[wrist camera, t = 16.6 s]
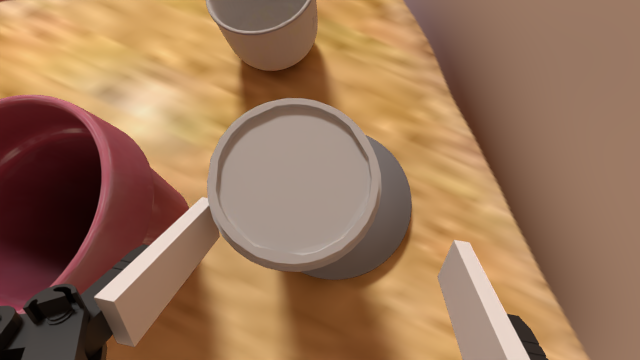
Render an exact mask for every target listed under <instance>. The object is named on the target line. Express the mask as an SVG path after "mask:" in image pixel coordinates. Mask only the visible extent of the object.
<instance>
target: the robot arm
mask: <svg viewBox="0 0 640 360" xmlns="http://www.w3.org/2000/svg"><path fill="white" fill-rule="evenodd" d="M219 237H220V236H219V229H218V227H217V225H216V224H215V222H214V220H213V217H212V213H211V210H210V206H209V203H208V198H204V197H202V198H201V199H200V200H199V201H197V202H196V203H195V204H194V205H193V206H192V207H191V208H190V209H189V210H188V211H187V212H186V213H184V214H183V215H182V216H181V217H180V218H179V219H178V220H177V221H176V222H175V223H174V224H173V225H171V226H170V227H169V228H168V229H167V230H166V231H165V232H164V233H163V234H162V235H161V236H160V237H158V238H157V239H156V240H155V241H154V242H153V243H152V244H151V245H145V244H143V245H141V246H139V247H137V248H135V249H134V250H132V251H130V252H129V253H128V254H127V255H126V256H124V257H123V258H122V259H121V261H120V262H118V263H116V264H115V265H114V266H113V267H112V269H110V270H108V271H107V272H106V273H105V274H104V275H103V276H101V277H100V278H99V279H98V280H97V281H96V282H95V283H93V284H92V285H91V286H90V287H89V288H88V289H87V290H85V291H84V292H83V293H82V294H81V295H80V294H79V292H78V291H77V289H76V287H75V286H73V285H72V284H59V285H54V286H52V287H49V288H46V289H44V290H42V291H41V292H39V293H37V294H35V295H34V296H33V297H32V298H31V299H29V300H28V301H27V302H26V304H25V305H24V307H23V310H24V311H25V313H26V314H18V313H17V311H16V310H15V309H14V308H13V307H11V306H9V305H8V306H0V360H106V354H107V345H106V341H107V340H108V339H109V338H110V337H111V336H112V335H113V336H114V338H115V340H116V342H117V343H119V344H124V345H128V346H132V347H135V346H136V345H137V344H138V342H139V341H140V340H141V338H142V337H143V336H144V334H145V333H146V332H147V331H148V329H149V328H150V327H151V325H152V324H153V323H154V321H155V320H156V319H157V318H158V316H159V315H160V314H161V312H162V311H163V310H164V308H165V307H166V306H167V304H168V303H169V302H170V301H171V299H172V298H173V297H174V295H175V294H176V293H177V291H178V290H179V289H180V288H181V286H182V285H183V284H184V282H185V281H186V280H187V278H188V277H189V276H190V275H191V273H192V272H193V271H194V269H195V268H196V267H197V265H198V264H199V263H200V261H201V260H202V259H203V258H204V256H205V255H206V254H207V252H208V251H209V250H210V248H211V247H212V246H213V245H214V243H215V242H216V241H217V239H218V238H219ZM438 280H439V283H440V287H441V290H442V293H443V297H444V300H445V303H446V306H447V310H448V313H449V316H450V319H451V323H452V326H453V329H454V332H455V336H456V339H457V342H458V345H459V349H460V352H461V355H462V359H463V360H548V359H547V358H546V355H545V353H544V351H543V350H542V348H541V347H540V346H539V343H538V341H537V339H536V338H535V336H534V334H533V332H532V331H531V329H530V328H529V327H528V326H527V325H526V324H525V323H524V322H523V321H522V319H521V318H520V317H519V316H515V315H510V314H506V312H505V310H504V308H503V306H502V304H501V303H500V301H499V299H498V297H497V295H496V293H495V291H494V289H493V287H492V285H491V283H490V281H489V280H488V278H487V276H486V274H485V272H484V270H483V268H482V266H481V264H480V262H479V260H478V258H477V256H476V255H475V253H474V251H473V249H472V247H471V245H470V243H469V242H463V241H457V240H454V241H453V243H452V245H451V247H450V250H449V252H448V254H447V256H446V259H445V261H444V263H443V265H442V268H441V270H440V272H439V275H438Z"/></svg>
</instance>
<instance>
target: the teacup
mask: <svg viewBox="0 0 640 360" xmlns="http://www.w3.org/2000/svg"><path fill="white" fill-rule="evenodd" d="M206 5H207V8H208V11H209V13H210V15H211V17H212V18H213V20H214V21H215V22H216V23H217V25H218V26H219V28H220V30H221V32H222V33H223V35H224V37H225V38H226V40H227V41H228V43H229V45H230V46H231V47H232V49H233V50H234V52H235V53H236V54H237V55H238V56H239V58H241V59H242V60H243V61H244V62H245V63H247V64H248V65H250V66H252V67H254V68H257V69H260V70H266V71H276V70H282V69H285V68H288V67H291V66H293V65H295V64H296V63H298V62H299V61H300V60H302V59H303V58H304V57H305V56H306V55H307V54H308V52H309V51H310V49H311V48H312V46H313V44H314V41H315V38H316V34H317V5H316V0H206Z"/></svg>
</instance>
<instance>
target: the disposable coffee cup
mask: <svg viewBox="0 0 640 360" xmlns="http://www.w3.org/2000/svg"><path fill="white" fill-rule="evenodd" d="M207 191H208V203H209V206H210V210H211V213H212V217H213V220H214V222H215V224H216V225H217V227H218V229H219V231H220V232H221V234H222V236H223V237H224V238H225V240H226V241H227V242H228V243H229V244H230V245H231V246H232V247H233V248H234V249H235V250H236V251H237V252H239V253H240V254H241V255H243V256H244V257H246V258H247V259H248V260H250V261H252V262H254V263H257V264H259V265H261V266H263V267H266V268H270V269H274V270H279V271H292V272H299V271H309V270H313V269H317V268H320V267H323V266H326V265H328V264H330V263H333V262H335V261H337V260H339V259H340V258H341V257H343V256H344V255H346V254H347V253H349V252H350V251H351V250H352V249H353V248H354V247H355V246H356V245H357V244H358V243H359V242H360V241H361V240H362V239H363V238H364V237H365V235H366V233H367V232H368V230H369V228H370V227H371V225H372V223H373V222H374V219H375V216H376V213H377V211H378V208H379V204H380V197H381V173H380V169H379V165H378V161H377V158H376V155H375V153H374V150H373V148H372V146H371V145H370V143H369V141H368V139H367V137H366V136H365V134H364V133H363V132H362V130H361V129H360V128H359V127H358V126H357V125H356V124H355V123H354V122H353V120H352V119H350V118H349V117H348V116H346V115H345V114H344V113H342V112H341V111H339V110H338V109H335V108H333V107H331V106H329V105H327V104H324V103H321V102H318V101H316V100H310V99H304V98H285V99H280V100H275V101H270V102H267V103H264V104H261V105H259V106H256V107H254V108H253V109H251V110H249V111H247V112H246V113H244V114H243V115H242V116H241V117H239V118H238V119H237V120H235V121H234V122H233V123H232V124H231V125H230V127H229V128H228V129H227V130H226V132H225V133H224V134H223V135H222V137H221V138H220V140H219V142H218V144H217V146H216V148H215V151H214V153H213V155H212V157H211V160H210V168H209V174H208V180H207Z"/></svg>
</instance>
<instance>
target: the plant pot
mask: <svg viewBox="0 0 640 360" xmlns="http://www.w3.org/2000/svg"><path fill="white" fill-rule="evenodd" d="M188 210H189V207H188V205H187V203H186V201H185V199H184V198H183V197H182V195H181V194H180V193H179V192H177V191H176V190H175V189H174V188H173V187H172V186H170V185H169V184H168V183H167V182H166V181H165V180H164V179H163V178H162V177H161V176H159V175H158V174H157V173H156V172H155V171H154V170H153V169H152V168H150V166H149V163H148V161H147V158H146V157H145V155H144V153H143V152H142V150H141V149H140V147H139V146H138V145H137V144H136V143H135V141H134V140H133V139H132V138H130V137H129V136H128V135H127V134H126V133H124V132H123V131H121V130H119V129H118V128H116V127H114V126H113V125H111V124H109V123H108V122H106V121H104V120H102V119H100V118H99V117H97V116H95V115H93V114H91V113H90V112H88V111H86V110H84V109H82V108H80V107H78V106H76V105H74V104H72V103H70V102H67V101H64V100H61V99H58V98H55V97H50V96H43V95H20V96H12V97H7V98H3V99H0V306H8V305H9V306H11V307H13V308H14V309H15V310H16V311H17V313H18V314H26V313H25V311H24V310H23V307H24V305H25V304H26V302H27V301H28V300H29V299H31V298H32V297H33V296H34V295H35V294H37V293H39V292H41V291H42V290H44V289H46V288H49V287H52V286H54V285H59V284H72V285H73V286H75V287H76V289H77V291H78V292H79V294H80V295H81V294H82V293H83V292H84V291H85V290H87V289H88V288H89V287H90V286H91V285H92V284H93V283H95V282H96V281H97V280H98V279H99V278H100V277H101V276H103V275H104V274H105V273H106V272H107V271H108V270H110V269H112V267H113V266H114V265H115V264H116V263H118V262H120V261H121V259H122V258H123V257H124V256H126V255H127V254H128V253H129V252H130V251H132V250H134V249H135V248H137V247H139V246H141V245H143V244H145V245H151V244H152V243H153V242H154V241H155V240H156V239H157V238H158V237H160V236H161V235H162V234H163V233H164V232H165V231H166V230H167V229H168V228H169V227H170V226H171V225H173V224H174V223H175V222H176V221H177V220H178V219H179V218H180V217H181V216H182V215H183V214H184V213H186V212H187V211H188Z"/></svg>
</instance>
